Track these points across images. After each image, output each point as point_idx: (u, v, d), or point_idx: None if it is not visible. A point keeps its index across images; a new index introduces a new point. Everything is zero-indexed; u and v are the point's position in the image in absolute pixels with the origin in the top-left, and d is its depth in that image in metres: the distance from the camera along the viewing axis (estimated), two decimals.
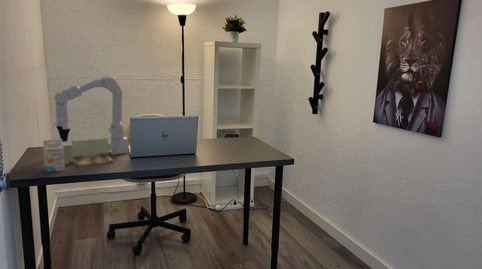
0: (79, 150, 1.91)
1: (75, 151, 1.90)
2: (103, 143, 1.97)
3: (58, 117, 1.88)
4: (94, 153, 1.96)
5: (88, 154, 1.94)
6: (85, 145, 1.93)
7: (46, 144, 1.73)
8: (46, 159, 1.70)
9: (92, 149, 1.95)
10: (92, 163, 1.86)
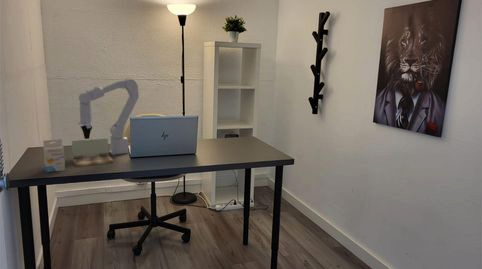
0: (79, 150, 1.91)
1: (75, 151, 1.90)
2: (103, 143, 1.97)
3: (82, 116, 1.96)
4: (94, 153, 1.96)
5: (88, 154, 1.94)
6: (85, 145, 1.93)
7: (46, 144, 1.73)
8: (46, 159, 1.70)
9: (92, 149, 1.95)
10: (92, 163, 1.86)
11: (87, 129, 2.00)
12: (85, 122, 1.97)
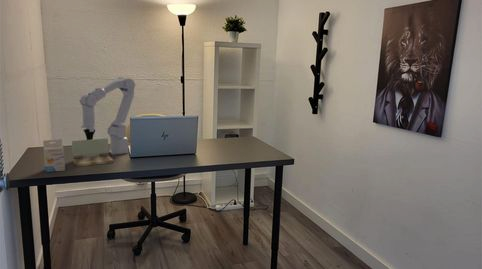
0: (79, 150, 1.91)
1: (75, 151, 1.90)
2: (103, 143, 1.97)
3: (85, 120, 1.90)
4: (94, 153, 1.95)
5: (88, 154, 1.94)
6: (85, 145, 1.92)
7: (46, 144, 1.73)
8: (46, 159, 1.70)
9: (92, 149, 1.95)
10: (92, 163, 1.86)
11: (90, 132, 1.94)
12: (88, 125, 1.90)
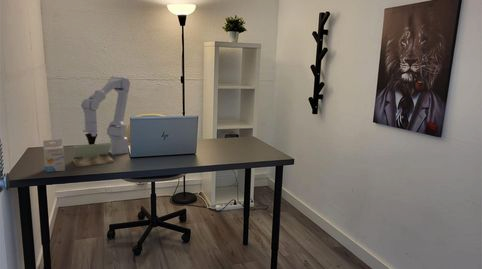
0: (80, 153, 1.89)
1: (76, 154, 1.89)
2: (105, 147, 1.94)
3: (87, 124, 1.86)
4: (94, 154, 1.95)
5: (88, 155, 1.94)
6: (87, 149, 1.90)
7: (46, 144, 1.73)
8: (46, 159, 1.70)
9: (93, 152, 1.93)
10: (92, 163, 1.86)
11: (92, 137, 1.90)
12: (90, 130, 1.87)
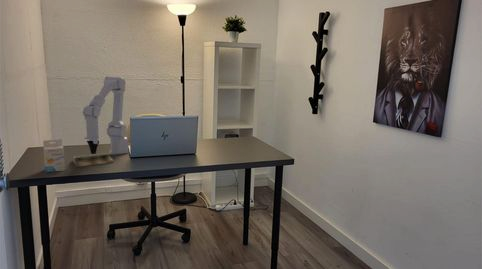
0: (81, 157, 1.89)
1: None
2: (106, 154, 1.93)
3: (88, 131, 1.84)
4: (95, 156, 1.95)
5: (89, 156, 1.94)
6: (88, 156, 1.89)
7: (46, 144, 1.73)
8: (46, 159, 1.70)
9: (94, 156, 1.93)
10: (92, 163, 1.86)
11: (94, 144, 1.88)
12: (92, 137, 1.84)
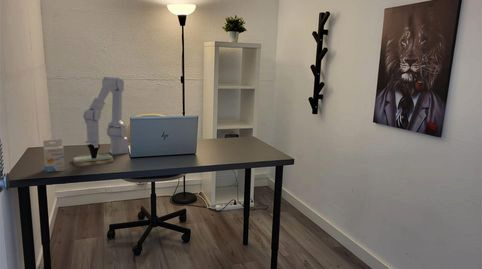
0: None
1: None
2: None
3: (89, 135, 1.84)
4: None
5: None
6: None
7: (46, 144, 1.73)
8: (46, 159, 1.70)
9: None
10: (92, 163, 1.86)
11: (94, 148, 1.87)
12: (92, 141, 1.84)
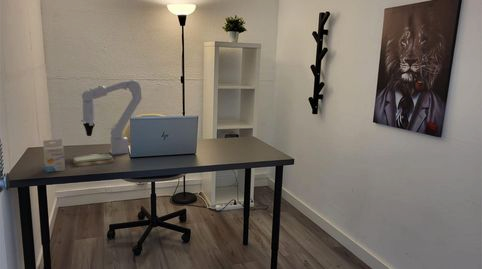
0: None
1: None
2: None
3: (85, 114, 1.99)
4: None
5: None
6: None
7: (46, 144, 1.73)
8: (46, 159, 1.70)
9: None
10: (92, 163, 1.86)
11: (89, 126, 2.03)
12: (88, 119, 1.99)
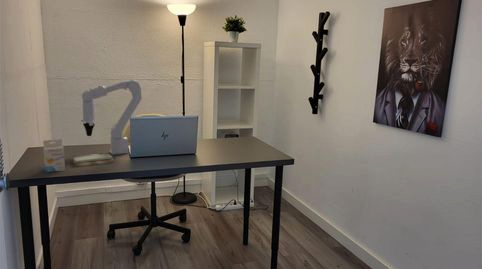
0: None
1: None
2: None
3: (85, 114, 1.99)
4: None
5: None
6: None
7: (46, 144, 1.73)
8: (46, 159, 1.70)
9: None
10: (92, 163, 1.86)
11: (89, 126, 2.03)
12: (88, 119, 1.99)
